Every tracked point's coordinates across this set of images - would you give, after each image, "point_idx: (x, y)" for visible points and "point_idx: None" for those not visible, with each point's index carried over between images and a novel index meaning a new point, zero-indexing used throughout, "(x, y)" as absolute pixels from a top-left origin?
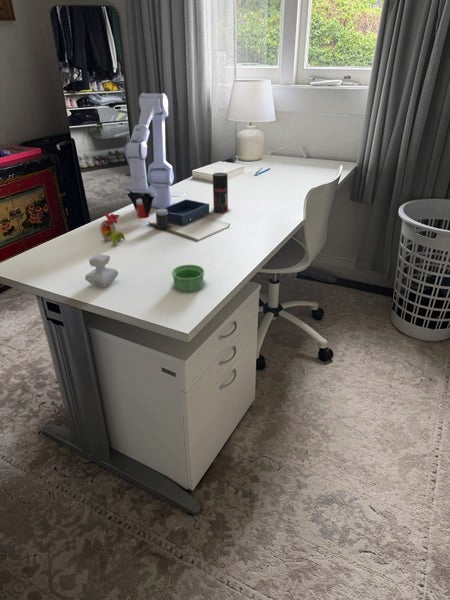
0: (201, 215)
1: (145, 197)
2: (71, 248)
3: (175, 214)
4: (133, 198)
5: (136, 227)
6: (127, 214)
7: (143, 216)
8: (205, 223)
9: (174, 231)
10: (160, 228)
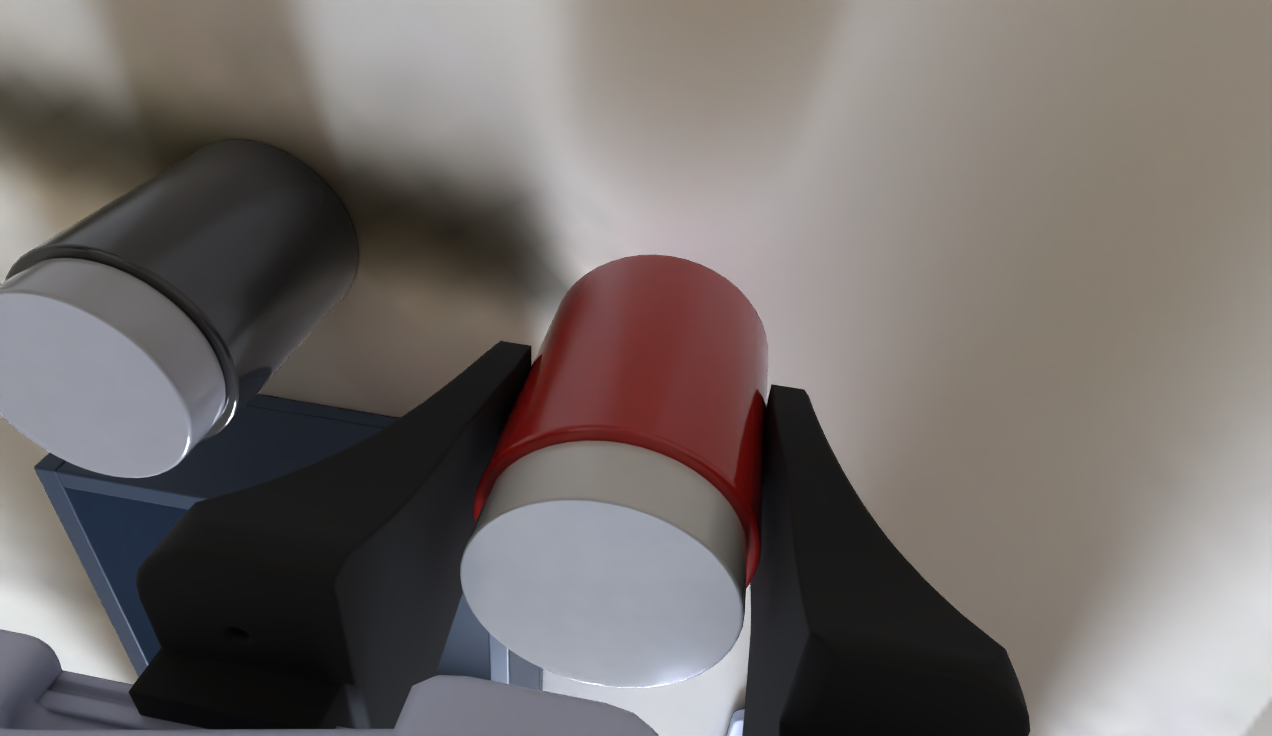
0: None
1: (148, 557)
2: None
3: (157, 484)
4: (789, 586)
5: (630, 32)
6: (1166, 482)
7: (579, 293)
8: (36, 502)
9: (10, 157)
10: (213, 145)
